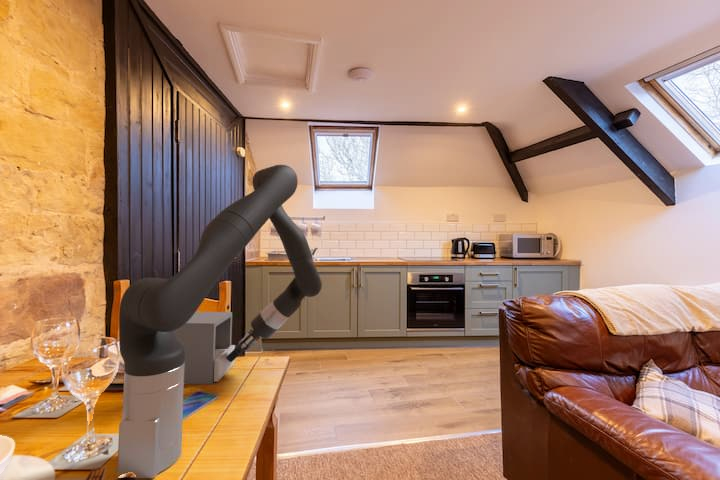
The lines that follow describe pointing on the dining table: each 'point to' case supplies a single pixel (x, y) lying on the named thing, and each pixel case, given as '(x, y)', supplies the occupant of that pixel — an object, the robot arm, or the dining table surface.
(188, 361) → the cabinet
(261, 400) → the dining table surface
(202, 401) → the smartphone
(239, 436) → the dining table surface
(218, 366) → the drawer
